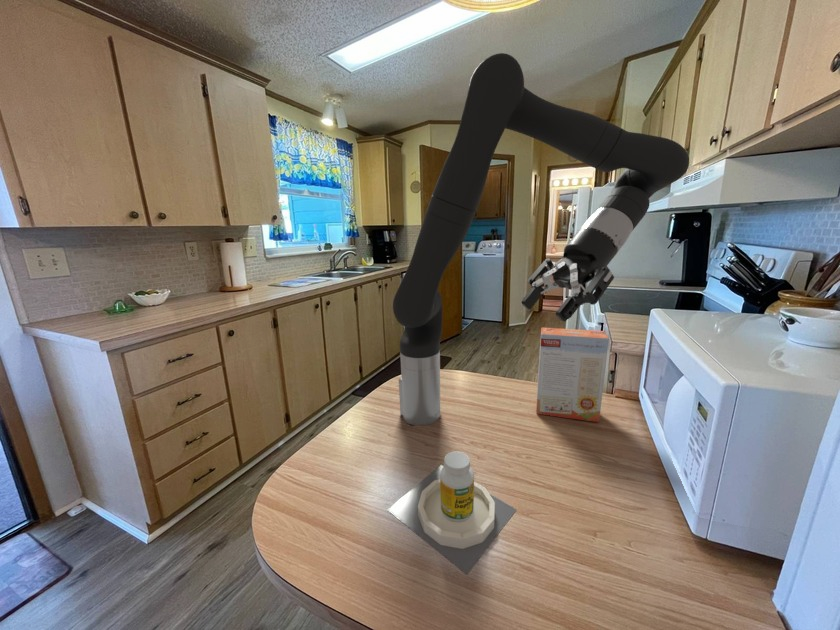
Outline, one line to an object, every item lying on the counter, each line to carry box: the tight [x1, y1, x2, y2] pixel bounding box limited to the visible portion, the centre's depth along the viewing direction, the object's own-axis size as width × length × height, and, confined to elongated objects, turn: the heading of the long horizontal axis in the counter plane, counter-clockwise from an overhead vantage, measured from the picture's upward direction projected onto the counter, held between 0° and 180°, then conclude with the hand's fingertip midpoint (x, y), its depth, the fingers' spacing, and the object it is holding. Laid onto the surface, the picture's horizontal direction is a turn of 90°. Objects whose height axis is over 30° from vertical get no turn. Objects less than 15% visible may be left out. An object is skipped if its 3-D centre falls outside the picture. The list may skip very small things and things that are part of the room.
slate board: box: [386, 464, 517, 575], centre depth 56 cm, size 16×14×1 cm
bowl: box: [418, 479, 495, 549], centre depth 55 cm, size 12×12×2 cm
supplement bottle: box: [440, 450, 475, 522], centre depth 54 cm, size 5×5×10 cm
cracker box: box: [535, 326, 610, 423], centre depth 81 cm, size 14×6×21 cm, turn 71°
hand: (541, 312), depth 59 cm, fingers open, 8 cm apart
